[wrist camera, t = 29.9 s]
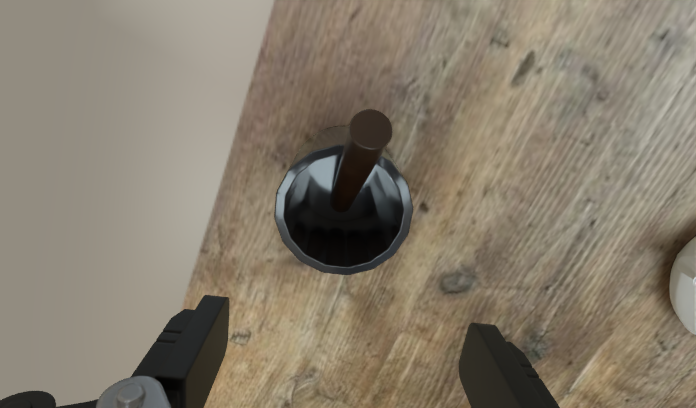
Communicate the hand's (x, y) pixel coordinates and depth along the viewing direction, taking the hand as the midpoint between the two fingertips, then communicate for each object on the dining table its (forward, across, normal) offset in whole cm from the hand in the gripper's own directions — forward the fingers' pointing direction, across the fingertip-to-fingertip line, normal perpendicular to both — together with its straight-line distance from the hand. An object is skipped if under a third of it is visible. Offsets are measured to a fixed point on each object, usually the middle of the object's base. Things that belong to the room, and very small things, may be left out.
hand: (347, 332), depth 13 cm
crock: (+20, 0, 0) cm, 20 cm away
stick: (+19, 0, +2) cm, 19 cm away
